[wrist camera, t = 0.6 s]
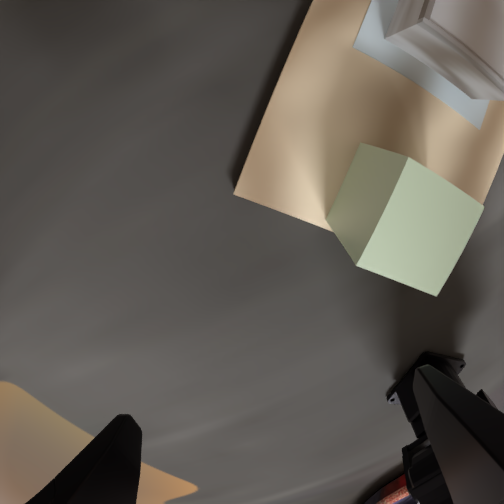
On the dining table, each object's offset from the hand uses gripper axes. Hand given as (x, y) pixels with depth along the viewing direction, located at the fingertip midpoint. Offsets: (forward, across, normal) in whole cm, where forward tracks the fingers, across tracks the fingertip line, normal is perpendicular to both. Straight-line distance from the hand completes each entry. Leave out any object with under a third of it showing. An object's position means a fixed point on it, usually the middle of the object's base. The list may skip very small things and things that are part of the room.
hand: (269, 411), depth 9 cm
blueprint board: (+13, -12, -8) cm, 19 cm away
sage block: (+12, -8, -2) cm, 14 cm away
